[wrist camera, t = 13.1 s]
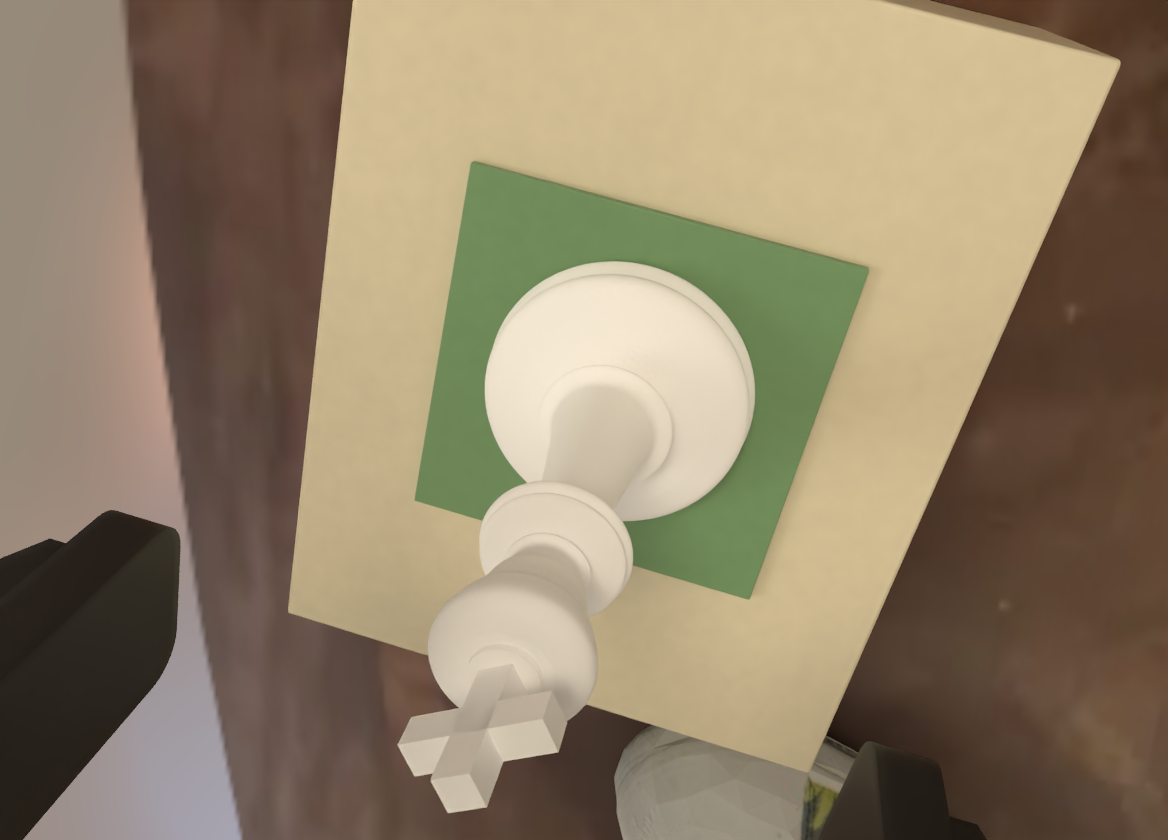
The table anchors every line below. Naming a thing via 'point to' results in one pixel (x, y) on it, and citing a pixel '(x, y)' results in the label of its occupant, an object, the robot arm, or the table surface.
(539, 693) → the chess piece
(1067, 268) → the table surface
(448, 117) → the box with green top
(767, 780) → the sneaker
